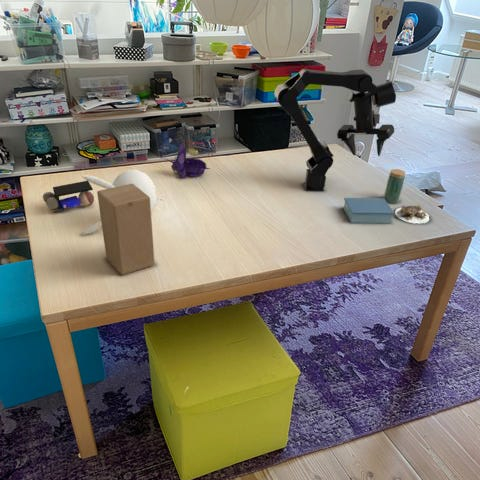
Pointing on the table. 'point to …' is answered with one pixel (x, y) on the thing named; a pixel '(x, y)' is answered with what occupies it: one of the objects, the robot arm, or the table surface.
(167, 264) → the table surface
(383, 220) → the slate blue base plate
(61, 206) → the toy car
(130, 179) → the stuffed toy
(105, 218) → the wooden block
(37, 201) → the table surface
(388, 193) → the canister
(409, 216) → the frog figurine
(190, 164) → the creature
